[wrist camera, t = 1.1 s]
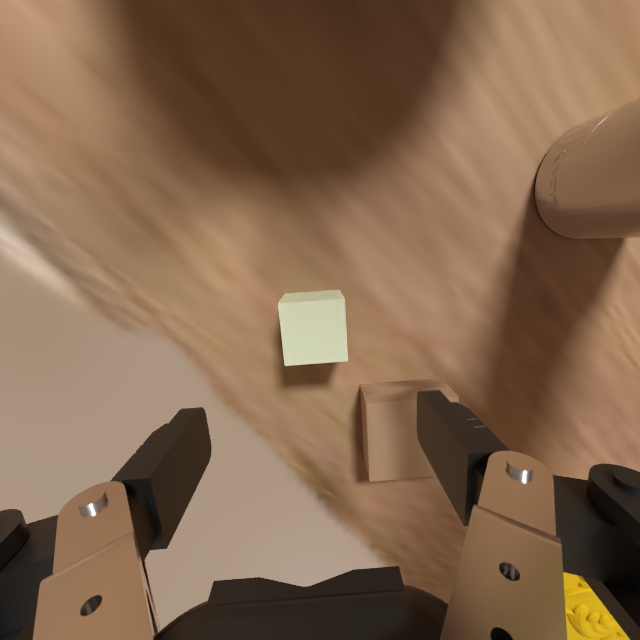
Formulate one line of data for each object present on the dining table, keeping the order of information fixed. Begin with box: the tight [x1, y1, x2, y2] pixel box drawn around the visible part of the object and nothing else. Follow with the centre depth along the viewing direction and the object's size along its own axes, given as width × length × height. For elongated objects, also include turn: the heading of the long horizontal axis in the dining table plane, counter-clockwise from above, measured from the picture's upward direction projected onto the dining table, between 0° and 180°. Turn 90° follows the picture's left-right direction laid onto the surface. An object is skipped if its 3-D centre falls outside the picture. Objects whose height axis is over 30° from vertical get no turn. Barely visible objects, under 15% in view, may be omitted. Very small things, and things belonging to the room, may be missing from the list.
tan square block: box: [360, 378, 459, 482], centre depth 28 cm, size 8×8×4 cm
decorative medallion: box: [563, 572, 630, 640], centre depth 36 cm, size 24×24×2 cm
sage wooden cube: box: [278, 290, 348, 366], centre depth 25 cm, size 5×5×5 cm
